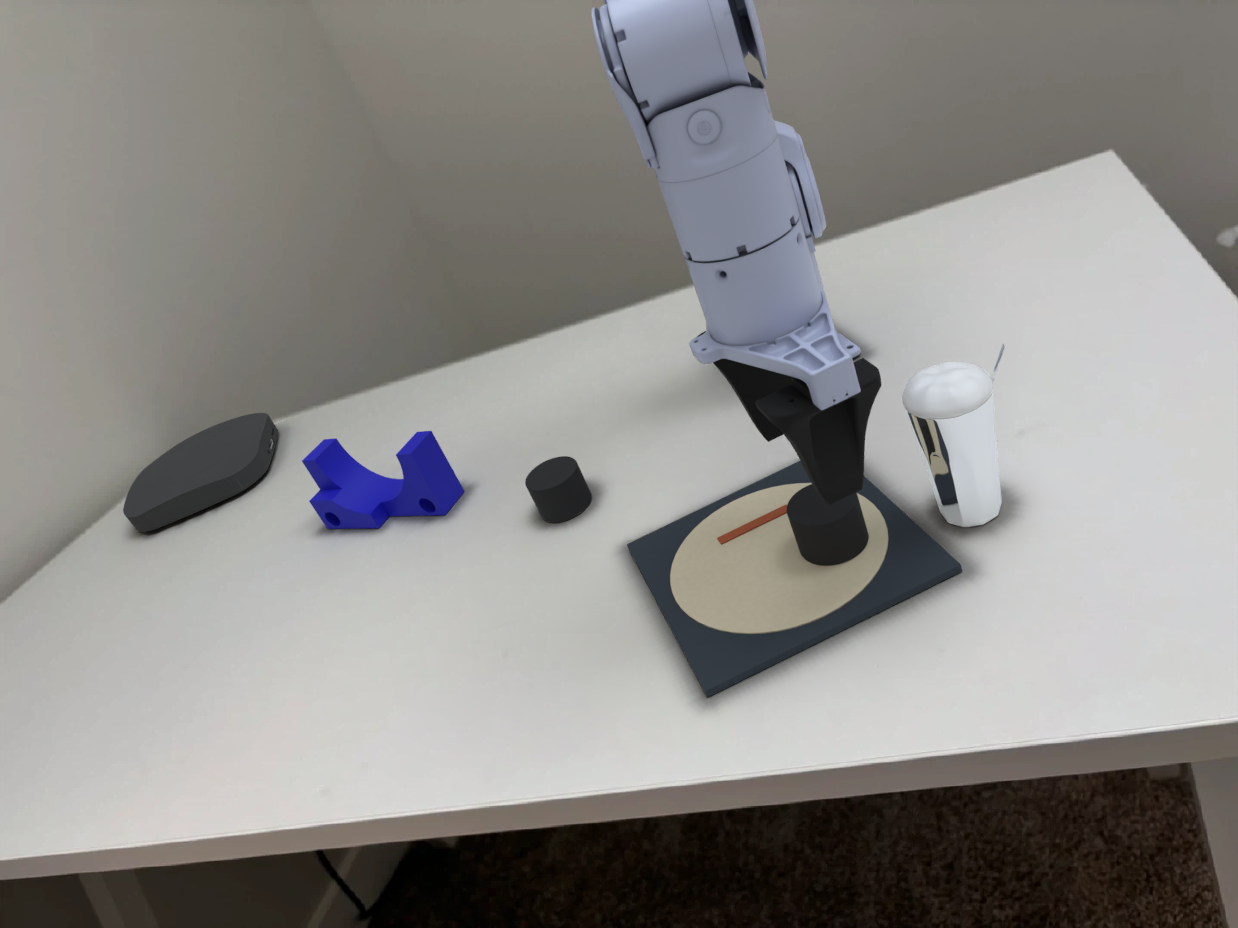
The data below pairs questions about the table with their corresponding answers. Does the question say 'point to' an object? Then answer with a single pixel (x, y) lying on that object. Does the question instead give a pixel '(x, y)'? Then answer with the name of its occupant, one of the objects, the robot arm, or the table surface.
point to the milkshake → (957, 438)
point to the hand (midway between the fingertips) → (810, 461)
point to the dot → (827, 527)
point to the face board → (776, 577)
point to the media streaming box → (201, 471)
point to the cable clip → (381, 485)
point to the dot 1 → (558, 489)
